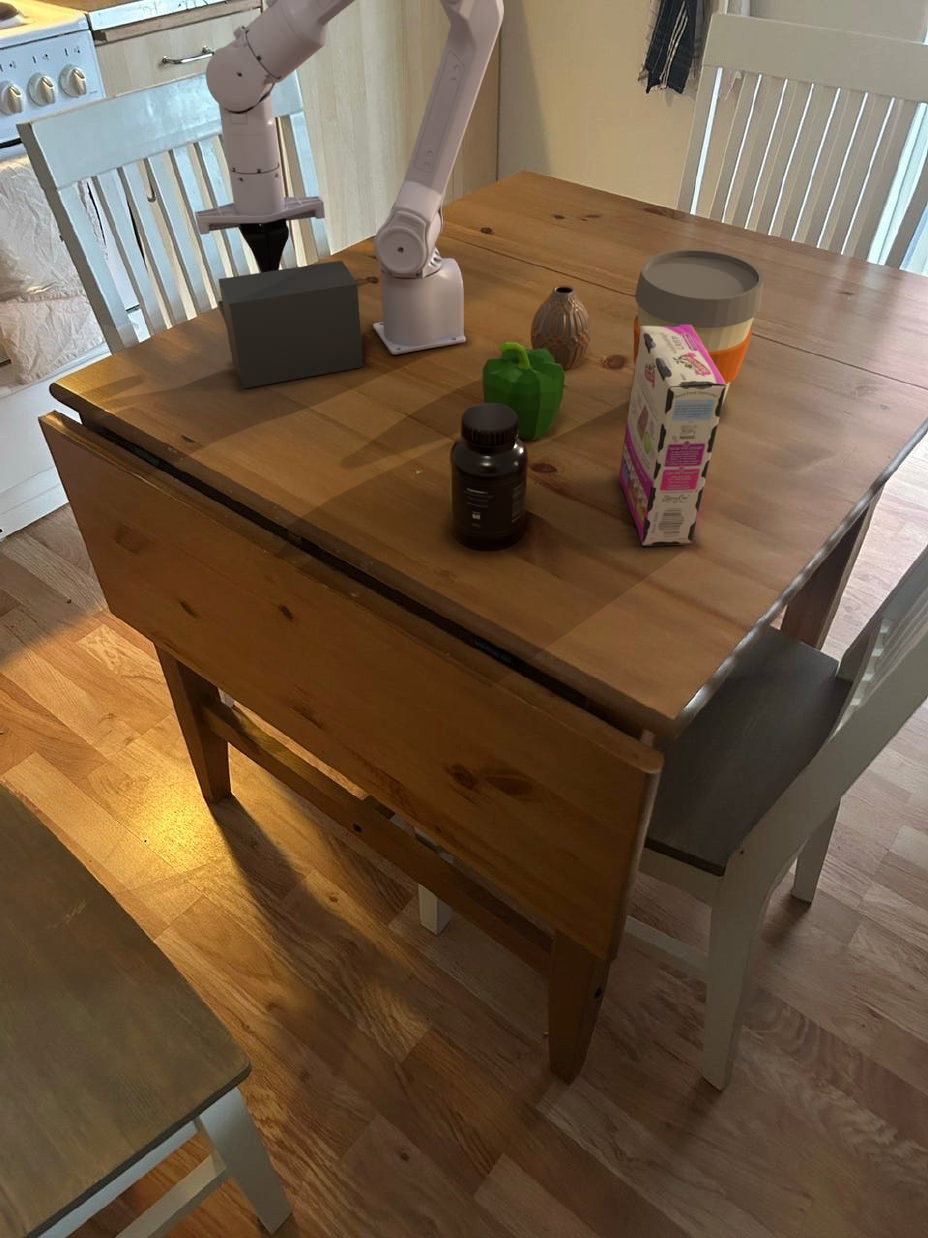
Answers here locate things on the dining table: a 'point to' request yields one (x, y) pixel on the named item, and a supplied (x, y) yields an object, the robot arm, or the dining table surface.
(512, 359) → the bell pepper
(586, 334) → the vase
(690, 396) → the candy bar box
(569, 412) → the dining table surface
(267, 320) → the grey tool caddy
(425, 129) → the robot arm
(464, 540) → the supplement bottle
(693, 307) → the reusable coffee cup
